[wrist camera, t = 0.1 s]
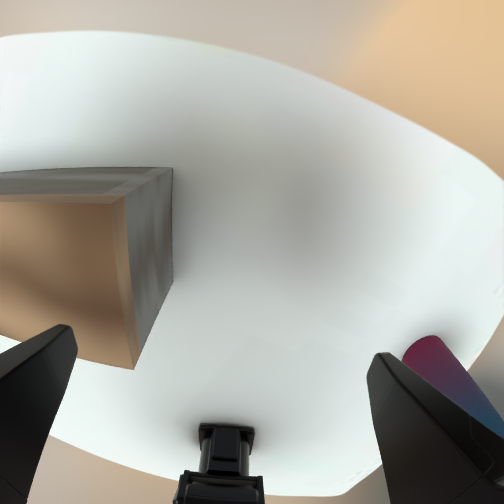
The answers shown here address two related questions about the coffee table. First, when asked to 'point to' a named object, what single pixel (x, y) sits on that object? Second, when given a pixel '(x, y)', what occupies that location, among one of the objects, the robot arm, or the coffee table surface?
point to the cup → (452, 380)
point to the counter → (86, 256)
